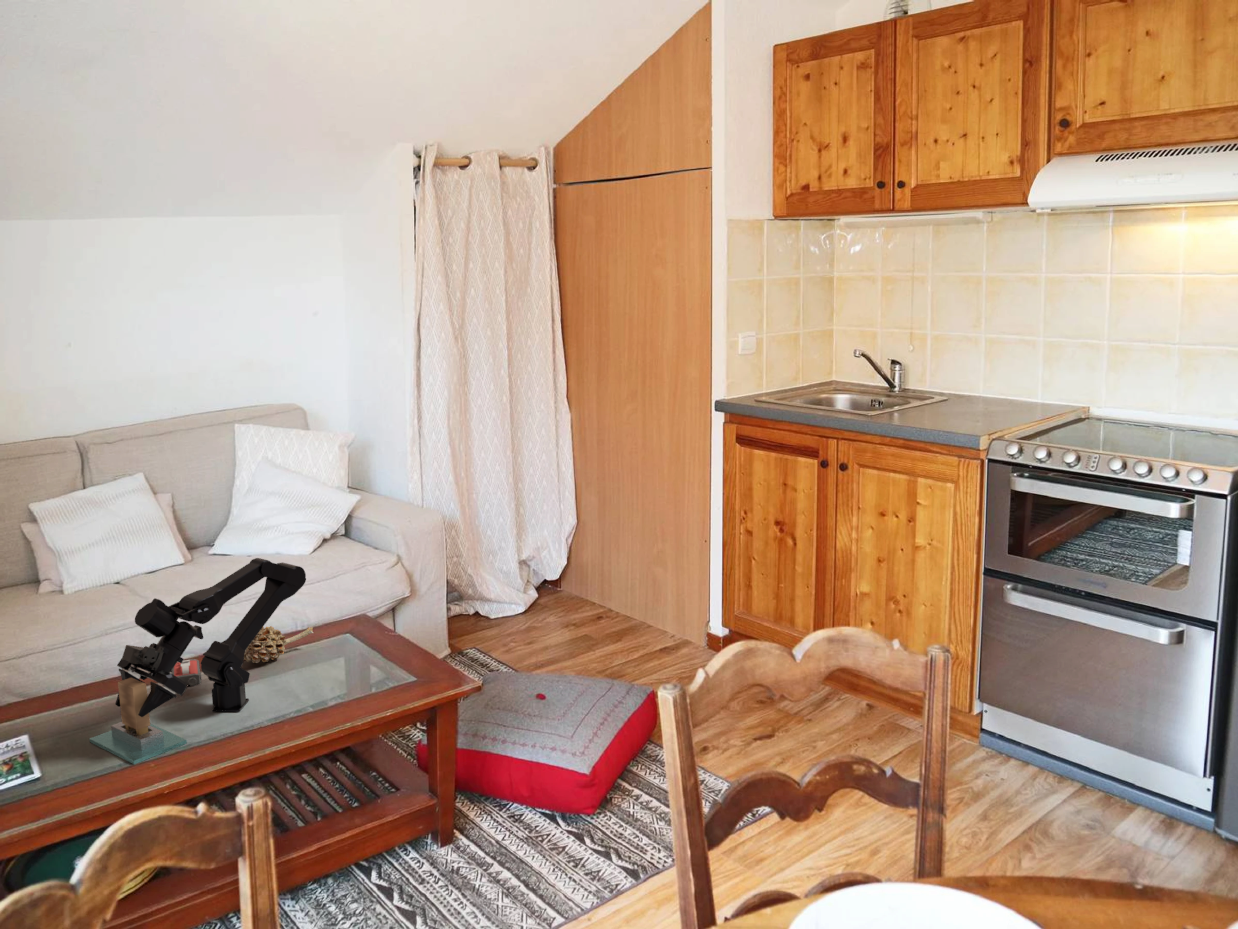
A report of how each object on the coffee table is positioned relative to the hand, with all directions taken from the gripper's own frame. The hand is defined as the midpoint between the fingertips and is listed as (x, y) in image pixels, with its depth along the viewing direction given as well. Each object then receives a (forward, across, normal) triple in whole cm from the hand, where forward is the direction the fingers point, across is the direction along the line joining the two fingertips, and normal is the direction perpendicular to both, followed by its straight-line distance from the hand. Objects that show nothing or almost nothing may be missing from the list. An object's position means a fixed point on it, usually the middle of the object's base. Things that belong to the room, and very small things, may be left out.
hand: (128, 711), depth 230 cm
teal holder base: (+5, 0, +6) cm, 8 cm away
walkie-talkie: (-12, -22, +24) cm, 35 cm away
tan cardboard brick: (+4, 0, +6) cm, 7 cm away
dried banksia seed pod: (-30, -18, +41) cm, 54 cm away
